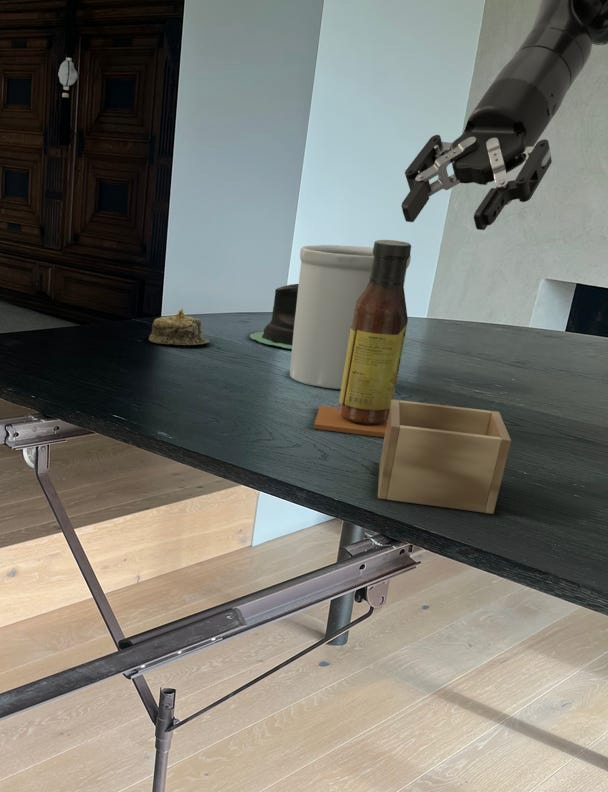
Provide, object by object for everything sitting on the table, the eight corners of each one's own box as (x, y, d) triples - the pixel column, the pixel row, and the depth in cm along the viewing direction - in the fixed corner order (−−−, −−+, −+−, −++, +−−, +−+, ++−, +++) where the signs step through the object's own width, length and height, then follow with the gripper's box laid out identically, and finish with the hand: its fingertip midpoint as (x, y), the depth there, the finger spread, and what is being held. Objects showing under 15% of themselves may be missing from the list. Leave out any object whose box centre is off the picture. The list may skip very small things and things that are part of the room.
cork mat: (400, 419, 123) (400, 415, 123) (400, 439, 114) (401, 434, 114) (319, 410, 125) (319, 405, 125) (313, 429, 116) (314, 423, 116)
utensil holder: (275, 383, 137) (293, 248, 130) (292, 364, 150) (309, 241, 142) (383, 397, 134) (408, 259, 126) (390, 376, 147) (413, 250, 139)
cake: (148, 349, 157) (147, 313, 154) (149, 339, 166) (148, 305, 163) (211, 348, 156) (211, 313, 154) (208, 338, 165) (209, 304, 163)
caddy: (483, 479, 102) (499, 411, 99) (493, 514, 92) (511, 440, 89) (379, 465, 104) (391, 399, 101) (377, 498, 94) (391, 425, 91)
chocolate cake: (360, 331, 177) (387, 356, 160) (263, 375, 181) (279, 405, 164) (332, 250, 171) (356, 267, 153) (232, 298, 175) (245, 320, 157)
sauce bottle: (398, 425, 118) (437, 248, 108) (354, 428, 115) (389, 247, 105) (368, 407, 123) (402, 237, 113) (324, 410, 121) (356, 236, 110)
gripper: (452, 75, 109) (375, 187, 106) (578, 75, 100) (497, 197, 97) (466, 133, 114) (393, 239, 112) (587, 137, 105) (510, 254, 103)
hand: (441, 219), depth 105 cm, fingers open, 8 cm apart
